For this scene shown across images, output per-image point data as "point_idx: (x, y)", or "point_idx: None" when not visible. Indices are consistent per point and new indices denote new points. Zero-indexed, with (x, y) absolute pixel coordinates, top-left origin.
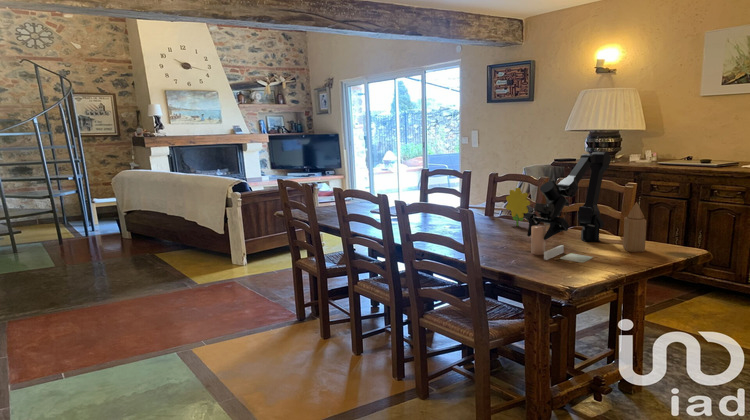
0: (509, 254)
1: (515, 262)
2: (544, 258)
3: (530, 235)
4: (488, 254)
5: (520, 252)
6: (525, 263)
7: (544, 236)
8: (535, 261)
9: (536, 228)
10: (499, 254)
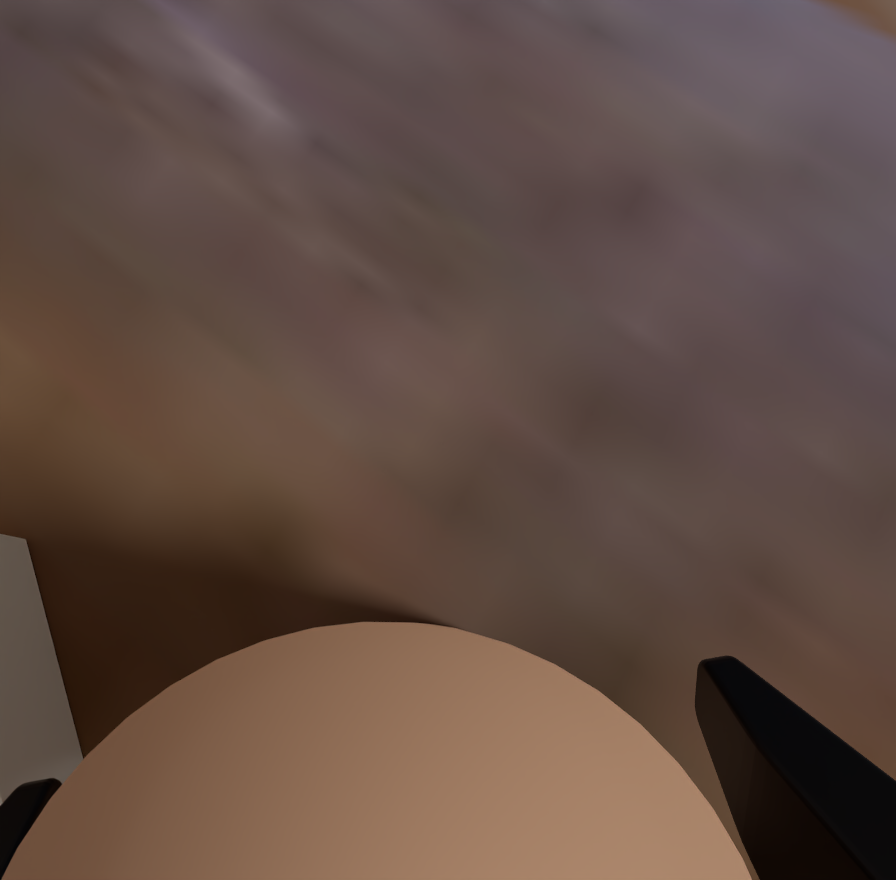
0: (590, 262)
1: (163, 73)
2: (5, 542)
3: (724, 788)
4: (737, 9)
5: (618, 500)
6: (37, 154)
7: (12, 842)
8: (25, 343)
9: (181, 688)
10: (663, 136)
